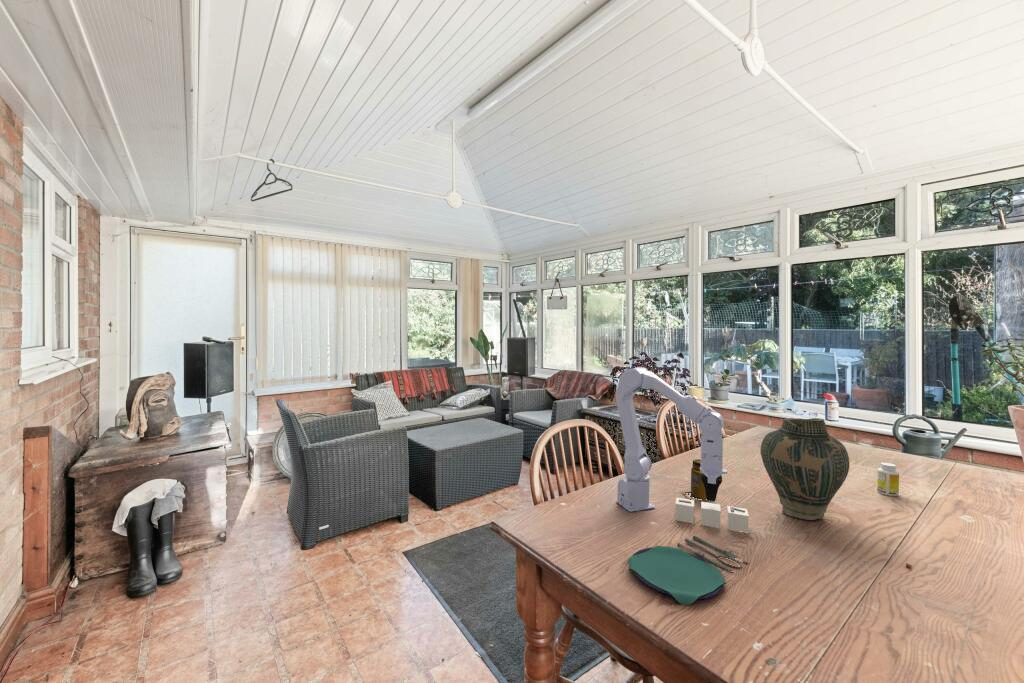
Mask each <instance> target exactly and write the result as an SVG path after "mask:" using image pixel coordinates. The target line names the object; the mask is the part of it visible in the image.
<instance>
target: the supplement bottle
mask: <svg viewBox="0 0 1024 683" xmlns="http://www.w3.org/2000/svg"><path fill="white" fill-rule="evenodd" d="M876 474H877V475H876V476H877V480H876V481H877V483H876V490H877V492H878V493H879V494H882V495H884V496H889V497H890V496H891V497H898V496H899V494H900V491H899V490H900V472H899V471H898V470H897V465H896V464H893V463H890V462H880V467H879V468H877V473H876Z"/></svg>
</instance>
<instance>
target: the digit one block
mask: <svg viewBox="0 0 1024 683" xmlns="http://www.w3.org/2000/svg"><path fill="white" fill-rule="evenodd" d="M674 504H675V509H674V510H675V514H674V516H675V518H674V519H675V521H678V520H679V521H678V522H685V523H690V524H694V523H695V501H694V500H690V499H689V498H683V497H676V499H675V503H674Z"/></svg>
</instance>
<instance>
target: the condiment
mask: <svg viewBox="0 0 1024 683" xmlns="http://www.w3.org/2000/svg"><path fill="white" fill-rule="evenodd" d="M700 467H701V458H700V459H693V460H692V467H691V470H690V491H680V493H681V494H682V493H683V494H684V493H685V495H684V496H685V497H686V493H688V495H689V493H691V496H690V497H691V498H689V497H688V498H687V499H689V500H690V499H691V500H692V499H693V498H692V497H694V498H697V500H696V499H693V500H694V502H695V501H696V502H699V501H700V502H701V501H707V500H706V499H707V498H706V493H705V487H704V484H703V482H702V480H701V473H702V472H701V471H700ZM683 494H682V495H683ZM698 499H702V500H698Z"/></svg>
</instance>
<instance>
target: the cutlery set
mask: <svg viewBox="0 0 1024 683" xmlns="http://www.w3.org/2000/svg"><path fill="white" fill-rule="evenodd" d="M692 539H693V540H694V541H692V540H691V539H689V538H685V539H684V542H685V543H688V544H690V545H693V546H694V547H697V548H698V549H701V550H702V551H705V552H706V553H708V554H710V555H712V556H713V557H715V556H716V557H715V558H717V559H718V560H720V561H721V562H720V561H719V562H720V563H719V562H718V561H715V560H713V559H711V558H709V557H707V556H705V553H701V552H700V551H696V550H693V549H692V548H689V547H686V546H685V545H683V544H681V543H680V542H678V543H677V546H680V547H682V548H684V549H686V550H688V551H691V552H692V553H694V554H692V553H691V552H687V551H685V550H684V549H682V548H680V547H674V546H665V545H655V546H653V547H652V546H651V547H648V548H643V549H642V548H641V549H639V550H637V551H636V552H634V553H633V554H632V555H631V556H629V557H628V559H627V564H628V570H629V571H632V573H633V574H634V576H636V578H637V579H638V580H640V581H641V582H642V583H644V585H646V586H648V587H650V588H652V589H653V590H656V591H658V592H659V593H662V594H665V595H668V596H670V597H673V598H674V599H675V600H676V601H677V602H678V604H681V605H684V606H685V605H686V606H689V605H691V604H693V603H694V602H696V601H697V600H703V599H704V600H706V599H709V598H713V597H715V596H717V595H719V593H721V591H722V590H723V589H724V585H726V584H727V582H726V579H725V578H724V576H723V574H722V572H721V570H720V569H719V568H720V567H722V568H724V569H726V570H729V571H734V570H733V569H731V568H729V567H730V566H733V565H731V564H729V563H727V562H724V561H723V560H722V559H723V558H728V559H731V558H734V559H735V558H737V557H738V558H740V557H739V556H738V555H736V554H734V553H732V551H728V550H727V549H722V548H720V547H717V546H715V545H713V544H711V543H709V542H707V541H706V540H704V539H702V538H701V537H699V536H697V535H693V536H692ZM695 541H697V542H699V543H701V544H703V545H705V546H706V545H707V547H709V548H711V549H713V548H714V549H713V550H715V549H716V550H715V551H718V552H721V553H724V554H723V555H721V554H720V555H719V554H716V553H714V552H712V551H711V550H708V549H707V548H705V547H704V546H702V545H700V544H698V543H696V542H695ZM725 554H726V555H725ZM727 556H728V557H727ZM720 557H723V558H722V559H721V558H720ZM729 557H731V558H729ZM719 558H720V559H719ZM728 559H727V560H728ZM734 559H731V560H733V561H735V562H737V563H738V564H739V565H740V567H738V566H737V567H738V568H742V567H743V566H742V564H740V562H738V561H736V560H734ZM722 562H723V563H722ZM721 563H722V564H721ZM714 564H715V565H714ZM723 564H724V565H723ZM725 564H727V565H726V566H725ZM716 565H717V566H716ZM728 565H730V566H729V567H727V566H728ZM718 566H720V567H719V568H718ZM722 568H721V569H722ZM732 568H736V566H735V565H734V566H733V567H732ZM738 568H737V569H738ZM724 569H723V570H724ZM726 570H725V571H726ZM729 571H728V572H729Z"/></svg>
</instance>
